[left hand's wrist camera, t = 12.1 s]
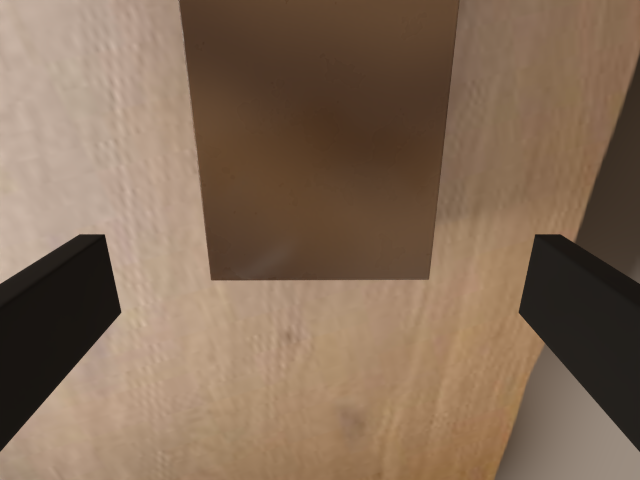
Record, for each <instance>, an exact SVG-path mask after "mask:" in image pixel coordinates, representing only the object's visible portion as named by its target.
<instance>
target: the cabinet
mask: <svg viewBox="0 0 640 480" xmlns="http://www.w3.org/2000/svg"><path fill="white" fill-rule="evenodd" d="M179 8H180V17H181V26H182V34H183V43H184V51H185V60H186V68H187V77H188V86H189V94H190V103H191V111H192V120H193V128H194V137H195V146H196V154H197V163H198V171H199V180H200V189H201V197H202V206H203V214H204V223H205V231H206V240H207V249H208V257H209V266H210V274H211V280H429V274H430V265H431V256H432V247H433V237H434V228H435V219H436V210H437V201H438V192H439V183H440V173H441V164H442V155H443V146H444V137H445V128H446V118H447V109H448V100H449V91H450V82H451V73H452V64H453V54H454V45H455V36H456V27H457V18H458V9H459V0H179Z"/></svg>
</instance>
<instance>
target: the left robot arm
mask: <svg viewBox="0 0 640 480" xmlns="http://www.w3.org/2000/svg"><path fill="white" fill-rule="evenodd" d="M120 314H121V308H120V304H119V299H118V294H117V290H116V285H115V280H114V276H113V271H112V266H111V262H110V257H109V252H108V248H107V243H106V238H105V234H80V235H78V236H76V237H75V238H73V239H72V240H70V241H68V242H67V243H65V244H64V245H62V246H60V247H59V248H57V249H56V250H54V251H52V252H51V253H49V254H48V255H46V256H44V257H43V258H41V259H40V260H38V261H36V262H35V263H33V264H32V265H30V266H28V267H27V268H25V269H24V270H22V271H20V272H19V273H17V274H16V275H14V276H12V277H11V278H9V279H8V280H6V281H4V282H3V283H1V284H0V451H1V450H2V449H3V448H4V447H5V446H6V445H7V443H8V442H9V441H10V440H11V439H12V438H13V437H14V435H15V434H16V433H17V432H18V431H19V430H20V428H21V427H22V426H23V425H24V424H25V423H26V422H27V420H28V419H29V418H30V417H31V416H32V415H33V414H34V412H35V411H36V410H37V409H38V408H39V407H40V405H41V404H42V403H43V402H44V401H45V400H46V399H47V397H48V396H49V395H50V394H51V393H52V392H53V391H54V389H55V388H56V387H57V386H58V385H59V384H60V383H61V381H62V380H63V379H64V378H65V377H66V376H67V374H68V373H69V372H70V371H71V370H72V369H73V368H74V366H75V365H76V364H77V363H78V362H79V361H80V360H81V358H82V357H83V356H84V355H85V354H86V353H87V351H88V350H89V349H90V348H91V347H92V346H93V345H94V343H95V342H96V341H97V340H98V339H99V338H100V337H101V335H102V334H103V333H104V332H105V331H106V330H107V329H108V327H109V326H110V325H111V324H112V323H113V322H114V320H115V319H116V318H117V317H118V316H119V315H120ZM519 314H520V315H521V316H522V317H523V318H524V319H525V320H526V322H527V323H528V324H529V325H530V326H531V327H532V329H533V330H534V331H535V332H536V333H537V334H538V335H539V337H540V338H541V339H542V340H543V341H544V342H545V343H546V345H547V346H548V347H549V348H550V349H551V350H552V351H553V353H554V354H555V355H556V356H557V357H558V358H559V359H560V361H561V362H562V363H563V364H564V365H565V366H566V368H567V369H568V370H569V371H570V372H571V373H572V374H573V376H574V377H575V378H576V379H577V380H578V381H579V383H580V384H581V385H582V386H583V387H584V388H585V389H586V391H587V392H588V393H589V394H590V395H591V396H592V397H593V399H594V400H595V401H596V402H597V403H598V404H599V405H600V407H601V408H602V409H603V410H604V411H605V412H606V414H607V415H608V416H609V417H610V418H611V419H612V420H613V422H614V423H615V424H616V425H617V426H618V427H619V428H620V430H621V431H622V432H623V433H624V434H625V435H626V437H627V438H628V439H629V440H630V441H631V442H632V443H633V445H634V446H635V447H636V448H637V449H638V450H639V451H640V284H639V283H637V282H636V281H634V280H632V279H631V278H629V277H628V276H626V275H624V274H623V273H621V272H620V271H618V270H616V269H615V268H613V267H612V266H610V265H608V264H607V263H605V262H604V261H602V260H600V259H599V258H597V257H596V256H594V255H592V254H591V253H589V252H588V251H586V250H584V249H583V248H581V247H580V246H578V245H576V244H575V243H573V242H572V241H570V240H568V239H567V238H565V237H564V236H562V235H560V234H535V238H534V243H533V248H532V252H531V257H530V262H529V266H528V271H527V276H526V280H525V285H524V290H523V294H522V299H521V304H520V308H519Z"/></svg>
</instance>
